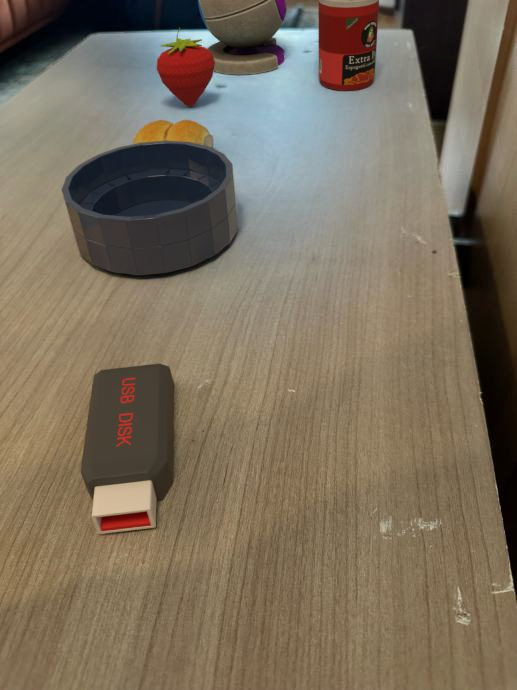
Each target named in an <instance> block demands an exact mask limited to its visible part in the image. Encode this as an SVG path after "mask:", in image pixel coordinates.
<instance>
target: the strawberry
mask: <svg viewBox="0 0 517 690" xmlns="http://www.w3.org/2000/svg"><path fill="white" fill-rule="evenodd" d="M180 30H181V27H178V31H177V33H176V37H175V38H176V40H175V41H174V42H168V43H164V44H160V47H163V48H165V47H166V48H168V49H166V50H164V51H162V52H161V53H160V55H159V56H158V57H157V59H156V72H157V74H158V76H159V78H160V80H161V83H162V84H163V85H164V86H165V87H166V88H167V89H168V90H169V92H170V93H171V94H172V95H173V96H174V97H176V99H178V100H179V101H180V102H181V103H182V104H183V105H184V106H185V107H188V108H189V107H190V108H191V107H194V106H196V104H197V103H198V100H199V99H200V98H201V96H202V95H203V94H204V92H205V91H206V89H207V87H208V86H209V84H210V81H211V80H212V79H213V77H214V72H215V71H214V66H215V61H214V58H213V55H212V53H211V52H210V51H209V50H208V48H207V47H205V46H202V44H199V42H202V41H203V39H192V40H191V38H185V39H182V38H179V36H178V35H179V33H180Z"/></svg>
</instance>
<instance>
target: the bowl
mask: <svg viewBox="0 0 517 690" xmlns="http://www.w3.org/2000/svg"><path fill="white" fill-rule="evenodd" d="M61 193H62V196H63V197H62V198H63V201H64V202H65V203H64V204H65V208H66V210H67V214H68V218H69V221H70V224H71V228H72V232H73V235H74V239H75V242H76V245H77V248H78V251H79V255H80V256H82V257H83V258H84V259H85V260H86V261H87V262H88V263H90V264H91V265H92V266H94V267H98V268H101V269H103V270H106V271H108V272H111V273H117V274H126V275H133V276H145V275H159V274H168V273H171V272H175V271H178V270H183V269H187V268H190V267H194V266H195V265H198V264H200V263H202V262H204V261H206V260H208V259H210V258H212V257H214V256H217V254H219V253H220V252H221V251H223V249H224V248H226V247H227V246H228V245H229V244H230V243H231V242H232V240H233V238H234V237H235V235H236V233H237V231H238V230H239V224H238V222H239V221H238V209H237V199H236V198H237V197H236V186H235V176H234V164H233V163H232V162H231V160H230V159H229V158H228V157H227V155H225V153H223V152H221V151H220V150H217V149H215V148H214V147H213V148H211V147H209V146H205V145H201V144H196V143H192V142H182V141H154V142H143V143H137V144H133V143H132V144H128V145H123V146H118V147H116V148H113V149H110V150H108V151H105V152H101V153H99V154H95V155H94V156H93V157H90V158H89V159H87V160H86V161H83V162H82V163H80V164H79V165H77V166H76V167H75V168H74V169H73V170H72V171H71V172H70V173H69V174H68V175H67V176H66V177H65V179H64V182H63V184H62V187H61Z"/></svg>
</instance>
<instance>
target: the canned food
mask: <svg viewBox="0 0 517 690" xmlns="http://www.w3.org/2000/svg"><path fill="white" fill-rule="evenodd" d="M317 10H318V13H317V14H318V79H319V82H320V84H321V85H322V86H324V87H325V88H327V89H330V90H334V91H342V92H348V91H349V92H350V91H359V90H362V89H365V88H367V87H369V86H371V84H373V81H374V79H375V77H376V76H375V75H376V60H377V44H378V29H379V11H380V0H318V9H317Z"/></svg>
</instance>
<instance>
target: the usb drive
mask: <svg viewBox="0 0 517 690" xmlns="http://www.w3.org/2000/svg"><path fill="white" fill-rule="evenodd" d="M174 389H175V388H174V379H173V375H172V371H171V367H170V366H169V365H165V364H163V363H153V364H151V363H150V364H143V365H134V366H133V365H132V366H125V367H115V368H105V369H101V370H99V371H98V372H97V373H95V374H94V375H93V378H92V386H91V393H90V400H89V407H88V414H87V421H86V427H85V436H84V443H83V449H82V457H81V463H80V474H81V477H82V480H83V482H84V485H85V488H86V491H87V492H88V495H89V497H90V498H91V501H92V509H91V517H90V518H91V520H92V523H93V526H94V528H95V530H96V533H97V535H105V534H113V533H120V532H129V531H136V530H145V529H153V528H154V529H155V528H156V527H157V501H162V500H164V499H165V497H166V495H167V494H168V493H169V490H170V488H171V487H172V485H173V483H174V417H175V415H174V411H175V410H174V406H175V404H174V401H175V400H174V399H175V397H174V394H175V393H174Z"/></svg>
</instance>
